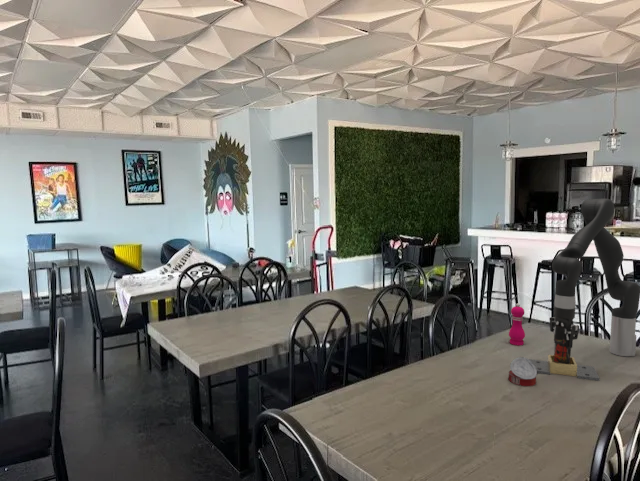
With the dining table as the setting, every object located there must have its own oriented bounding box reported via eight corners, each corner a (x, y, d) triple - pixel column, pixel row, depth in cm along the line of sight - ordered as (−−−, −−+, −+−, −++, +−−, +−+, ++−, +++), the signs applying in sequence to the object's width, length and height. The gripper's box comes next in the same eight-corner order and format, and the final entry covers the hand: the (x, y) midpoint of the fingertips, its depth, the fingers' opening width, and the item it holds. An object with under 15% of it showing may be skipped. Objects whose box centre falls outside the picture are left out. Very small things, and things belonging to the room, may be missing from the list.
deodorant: (550, 358, 191) (552, 324, 189) (564, 358, 191) (566, 323, 190) (559, 364, 185) (561, 328, 183) (573, 363, 185) (575, 327, 184)
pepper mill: (526, 346, 218) (527, 305, 216) (510, 345, 219) (511, 304, 217) (522, 341, 225) (524, 301, 223) (507, 340, 226) (508, 301, 224)
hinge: (593, 368, 190) (593, 358, 189) (599, 380, 178) (599, 369, 177) (528, 361, 199) (528, 351, 199) (529, 372, 187) (529, 361, 187)
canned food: (532, 390, 180) (547, 371, 177) (523, 396, 173) (538, 376, 170) (508, 371, 187) (521, 352, 184) (498, 375, 180) (512, 356, 176)
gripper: (586, 309, 179) (584, 350, 181) (559, 301, 193) (557, 339, 195) (570, 310, 178) (568, 352, 180) (544, 302, 192) (542, 341, 193)
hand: (562, 345), depth 187 cm, fingers closed on deodorant, 6 cm apart
